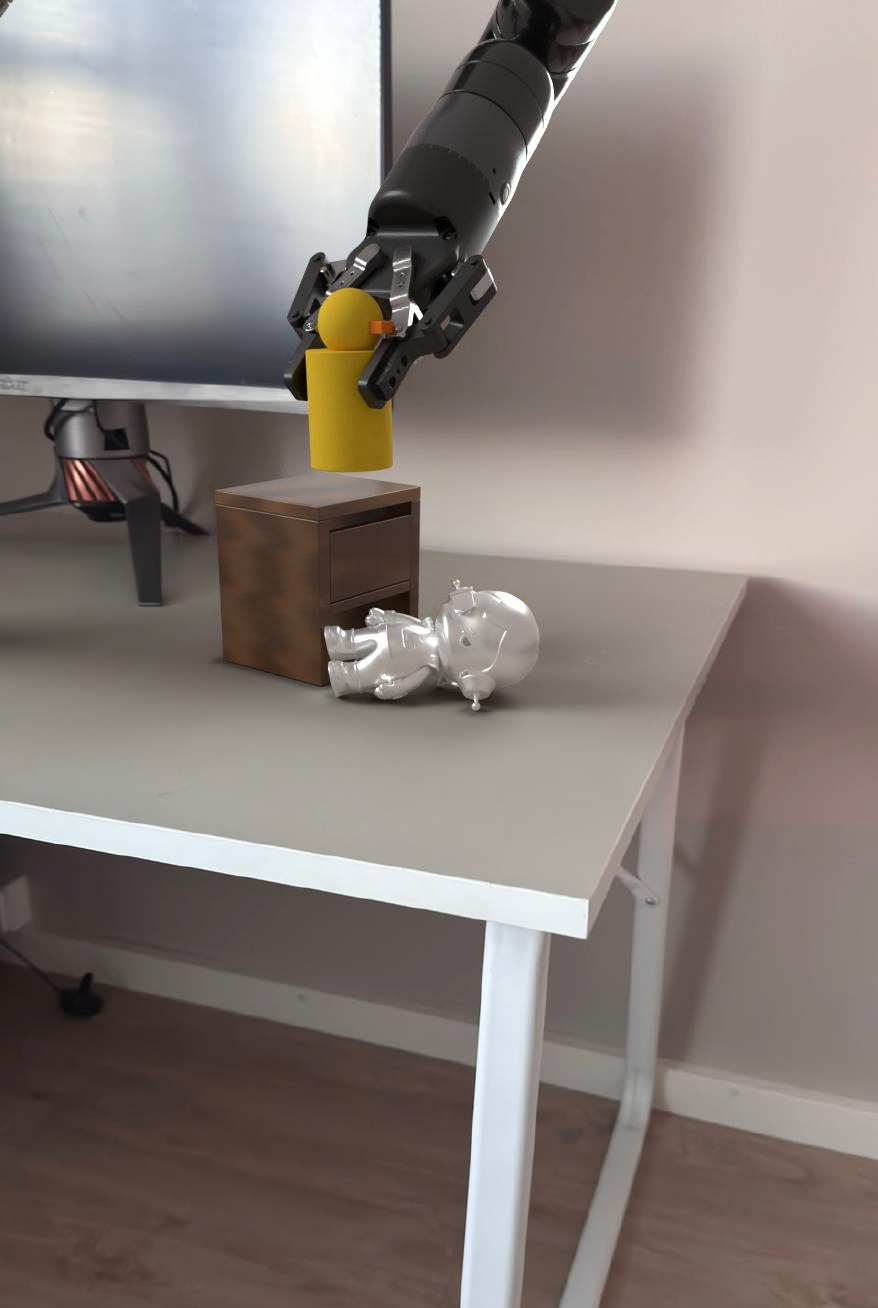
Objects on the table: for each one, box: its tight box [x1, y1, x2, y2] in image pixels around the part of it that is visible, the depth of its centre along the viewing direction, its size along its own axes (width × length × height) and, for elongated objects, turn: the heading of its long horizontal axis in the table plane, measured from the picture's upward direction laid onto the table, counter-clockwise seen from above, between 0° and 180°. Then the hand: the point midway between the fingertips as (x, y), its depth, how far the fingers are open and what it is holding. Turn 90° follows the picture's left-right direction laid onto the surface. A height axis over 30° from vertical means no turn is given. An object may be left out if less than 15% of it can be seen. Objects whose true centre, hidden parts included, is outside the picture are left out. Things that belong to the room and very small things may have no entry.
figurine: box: [324, 579, 541, 712], centre depth 84 cm, size 11×7×15 cm
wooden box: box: [214, 471, 422, 687], centre depth 90 cm, size 10×12×13 cm
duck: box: [305, 288, 394, 473], centre depth 72 cm, size 6×5×10 cm
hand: (331, 394), depth 72 cm, fingers closed on duck, 5 cm apart
